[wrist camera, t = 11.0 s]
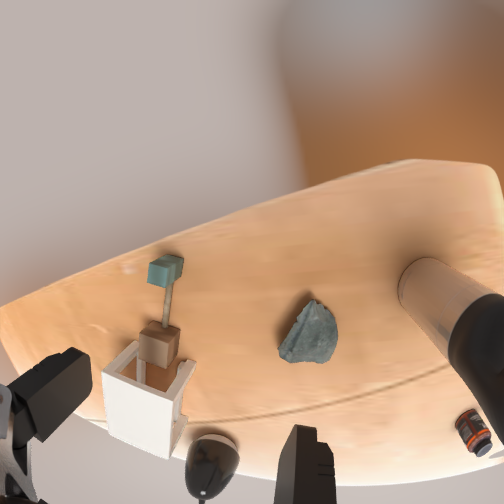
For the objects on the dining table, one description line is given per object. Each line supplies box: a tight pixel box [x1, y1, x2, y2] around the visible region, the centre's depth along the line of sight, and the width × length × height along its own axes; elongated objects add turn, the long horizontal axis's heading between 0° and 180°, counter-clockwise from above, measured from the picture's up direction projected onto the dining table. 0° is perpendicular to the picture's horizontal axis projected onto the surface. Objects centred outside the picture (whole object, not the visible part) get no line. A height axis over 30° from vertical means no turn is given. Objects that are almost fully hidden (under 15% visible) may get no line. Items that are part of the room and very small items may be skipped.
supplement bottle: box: [456, 410, 492, 457], centre depth 37 cm, size 6×6×11 cm
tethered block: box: [138, 254, 184, 369], centre depth 42 cm, size 5×17×6 cm, turn 167°
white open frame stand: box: [101, 340, 196, 460], centre depth 44 cm, size 12×16×11 cm
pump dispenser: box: [185, 434, 240, 504], centre depth 43 cm, size 10×10×15 cm
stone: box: [278, 299, 338, 364], centre depth 41 cm, size 11×4×10 cm
